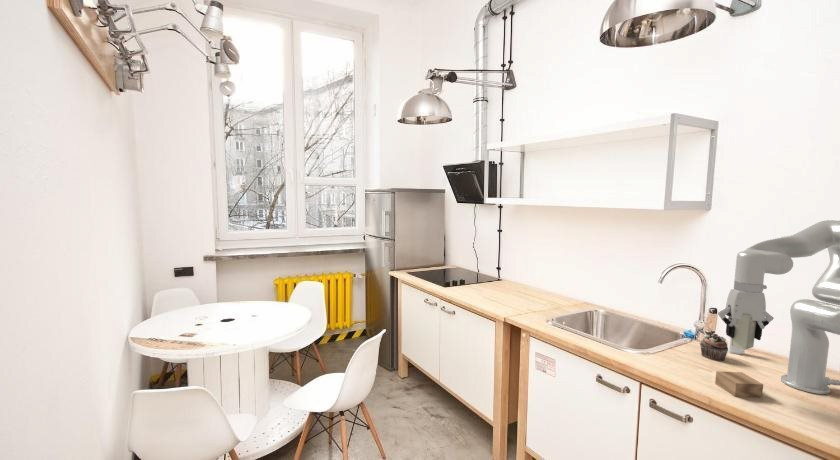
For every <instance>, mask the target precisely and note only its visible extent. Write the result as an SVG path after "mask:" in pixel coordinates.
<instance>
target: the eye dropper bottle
mask: <svg viewBox="0 0 840 460" xmlns="http://www.w3.org/2000/svg"><path fill="white" fill-rule="evenodd" d="M727 347H728V352H727V353H730V354H734V355H744V354H745V350H744V349H740V348H737V347H734V346H731V337H729V336H728V340H727Z"/></svg>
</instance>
